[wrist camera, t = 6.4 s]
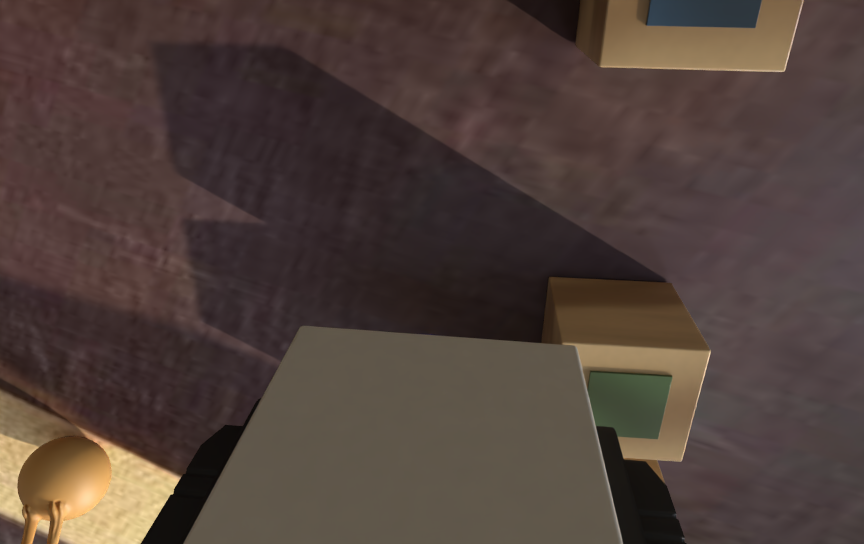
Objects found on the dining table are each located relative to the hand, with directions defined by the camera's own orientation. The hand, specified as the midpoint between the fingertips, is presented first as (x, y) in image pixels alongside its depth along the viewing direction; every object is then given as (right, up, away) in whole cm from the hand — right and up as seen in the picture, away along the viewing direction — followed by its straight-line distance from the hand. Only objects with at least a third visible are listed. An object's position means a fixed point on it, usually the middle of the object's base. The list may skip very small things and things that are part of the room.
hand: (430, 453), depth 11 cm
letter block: (0, 0, 0) cm, 0 cm away
